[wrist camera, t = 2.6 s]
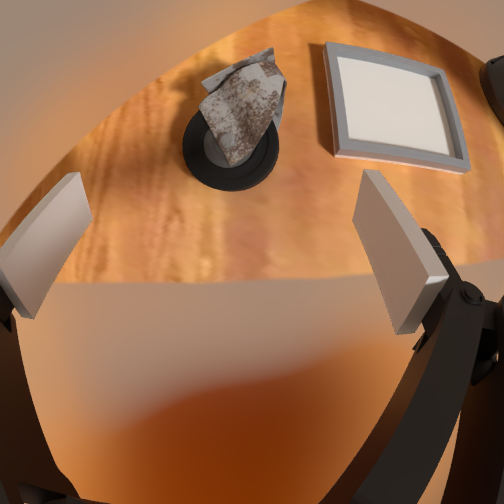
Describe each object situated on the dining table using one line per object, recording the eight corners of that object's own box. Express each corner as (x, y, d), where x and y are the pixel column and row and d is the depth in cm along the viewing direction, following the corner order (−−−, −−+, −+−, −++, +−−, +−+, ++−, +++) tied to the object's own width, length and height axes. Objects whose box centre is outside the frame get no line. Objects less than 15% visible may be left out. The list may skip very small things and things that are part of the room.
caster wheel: (219, 207, 29) (177, 124, 28) (322, 154, 27) (274, 72, 26) (200, 208, 23) (150, 106, 22) (332, 140, 21) (269, 41, 20)
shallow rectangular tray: (437, 77, 28) (443, 69, 26) (461, 174, 27) (471, 169, 25) (322, 52, 28) (325, 41, 26) (334, 156, 27) (339, 148, 25)
